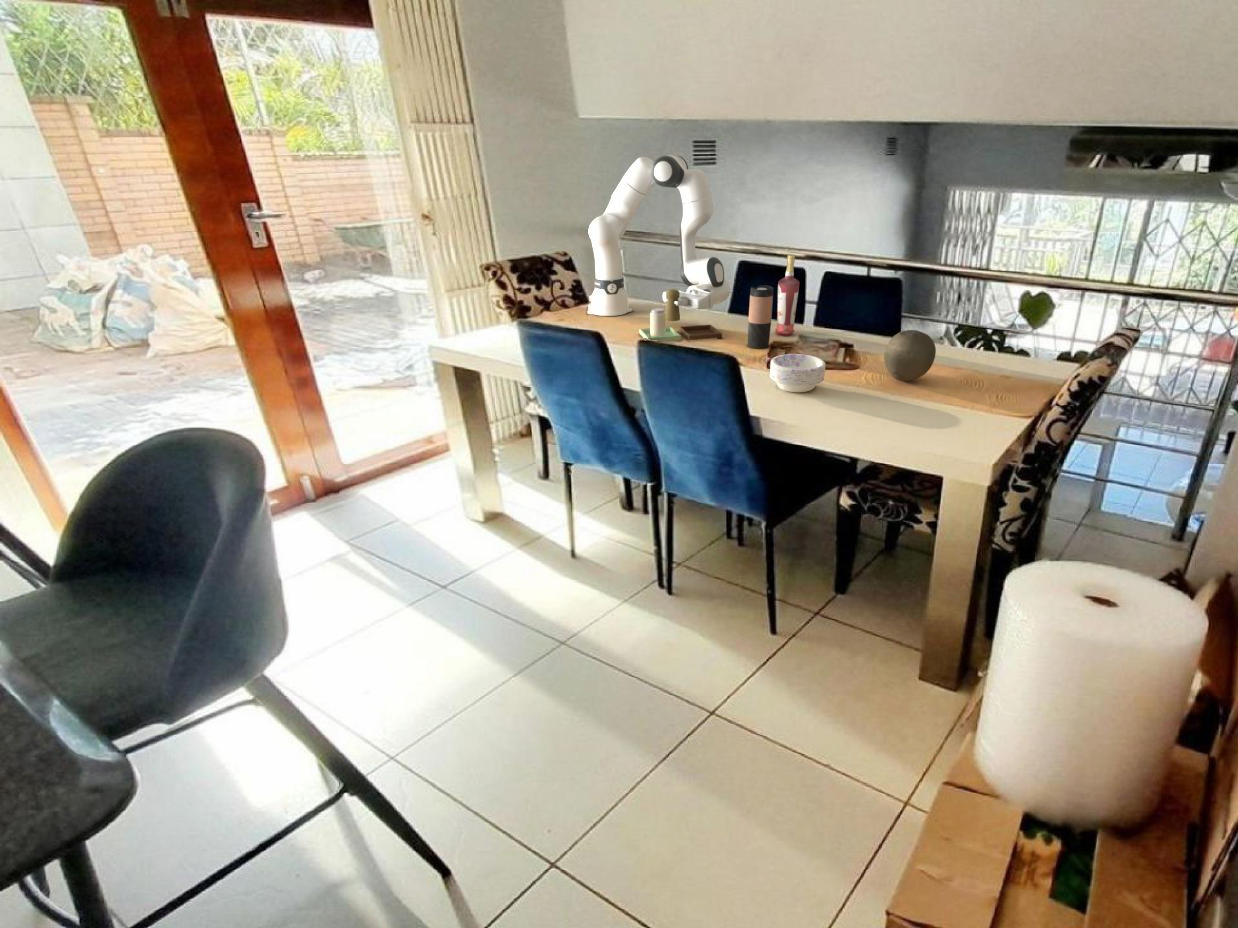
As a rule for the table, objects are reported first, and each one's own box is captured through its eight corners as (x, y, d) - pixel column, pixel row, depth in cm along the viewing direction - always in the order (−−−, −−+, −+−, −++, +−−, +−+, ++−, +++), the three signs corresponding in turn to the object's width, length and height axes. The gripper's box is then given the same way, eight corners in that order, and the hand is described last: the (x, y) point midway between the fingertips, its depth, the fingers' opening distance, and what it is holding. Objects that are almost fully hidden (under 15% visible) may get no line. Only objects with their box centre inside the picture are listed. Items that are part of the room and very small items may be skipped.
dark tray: (679, 332, 262) (679, 326, 261) (710, 329, 264) (710, 324, 263) (689, 341, 250) (689, 335, 250) (721, 338, 253) (722, 333, 252)
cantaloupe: (872, 375, 212) (878, 326, 206) (917, 373, 213) (925, 324, 206) (891, 390, 199) (899, 338, 193) (940, 388, 200) (949, 336, 194)
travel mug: (767, 349, 239) (772, 290, 230) (745, 348, 241) (748, 289, 232) (770, 343, 245) (775, 286, 237) (748, 342, 248) (752, 285, 239)
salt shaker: (648, 335, 256) (648, 308, 252) (663, 334, 257) (663, 307, 253) (652, 339, 252) (652, 311, 247) (667, 338, 252) (667, 310, 248)
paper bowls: (798, 400, 193) (801, 372, 190) (757, 386, 205) (759, 360, 201) (834, 388, 201) (837, 362, 198) (793, 376, 213) (795, 350, 209)
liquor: (796, 336, 253) (804, 256, 241) (776, 337, 253) (782, 257, 241) (792, 331, 260) (799, 253, 248) (772, 332, 260) (778, 254, 248)
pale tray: (639, 334, 261) (639, 329, 260) (671, 332, 263) (671, 326, 262) (647, 343, 249) (647, 338, 248) (680, 341, 251) (680, 335, 250)
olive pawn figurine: (661, 318, 267) (661, 289, 262) (675, 316, 269) (675, 287, 264) (669, 321, 262) (669, 292, 257) (683, 320, 264) (683, 290, 259)
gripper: (677, 284, 276) (652, 289, 268) (716, 292, 262) (690, 298, 254) (677, 300, 279) (651, 306, 271) (715, 309, 265) (690, 315, 257)
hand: (670, 302), depth 262 cm, fingers closed on olive pawn figurine, 4 cm apart
